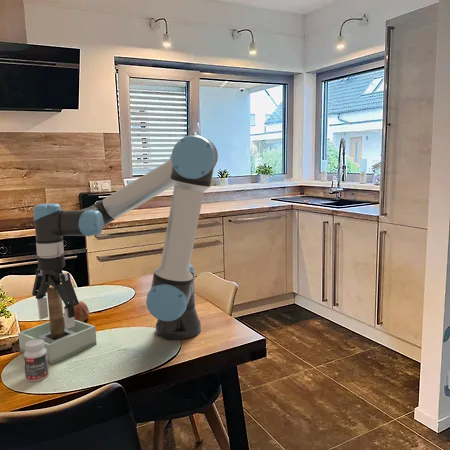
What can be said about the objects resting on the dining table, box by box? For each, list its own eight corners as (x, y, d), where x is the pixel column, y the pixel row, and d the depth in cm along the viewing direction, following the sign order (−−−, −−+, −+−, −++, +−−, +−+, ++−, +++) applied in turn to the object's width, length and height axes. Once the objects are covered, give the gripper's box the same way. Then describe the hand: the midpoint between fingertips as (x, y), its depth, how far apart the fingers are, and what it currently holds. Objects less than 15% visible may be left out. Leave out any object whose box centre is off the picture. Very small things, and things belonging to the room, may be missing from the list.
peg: (68, 343, 133) (63, 287, 130) (56, 348, 130) (51, 291, 127) (60, 340, 135) (55, 285, 132) (49, 344, 132) (44, 288, 129)
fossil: (68, 321, 144) (66, 293, 149) (53, 328, 148) (52, 301, 152) (98, 323, 154) (96, 297, 159) (83, 330, 158) (82, 304, 162)
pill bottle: (25, 384, 112) (21, 348, 110) (26, 374, 117) (22, 340, 115) (49, 379, 114) (46, 344, 112) (48, 370, 119) (45, 336, 117)
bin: (96, 344, 135) (95, 326, 134) (50, 364, 122) (49, 345, 121) (65, 333, 144) (64, 316, 143) (20, 351, 131) (18, 332, 130)
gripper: (87, 257, 124) (92, 327, 127) (38, 248, 138) (44, 311, 142) (65, 263, 118) (71, 335, 121) (16, 253, 132) (22, 318, 135)
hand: (56, 322), depth 131 cm, fingers open, 13 cm apart
